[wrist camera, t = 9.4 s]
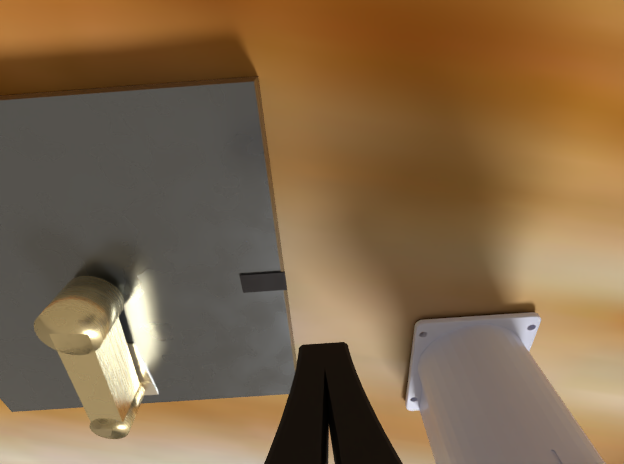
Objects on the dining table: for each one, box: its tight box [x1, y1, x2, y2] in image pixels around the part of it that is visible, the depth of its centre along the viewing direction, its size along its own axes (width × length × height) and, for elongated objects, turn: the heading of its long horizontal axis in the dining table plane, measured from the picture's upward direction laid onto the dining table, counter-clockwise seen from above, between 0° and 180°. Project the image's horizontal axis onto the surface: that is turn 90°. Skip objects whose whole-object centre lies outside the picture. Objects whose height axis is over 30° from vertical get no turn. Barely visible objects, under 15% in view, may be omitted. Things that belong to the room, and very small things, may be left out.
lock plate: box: [0, 76, 297, 412], centre depth 20 cm, size 20×20×2 cm
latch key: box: [34, 276, 145, 439], centre depth 20 cm, size 11×3×2 cm, turn 177°
